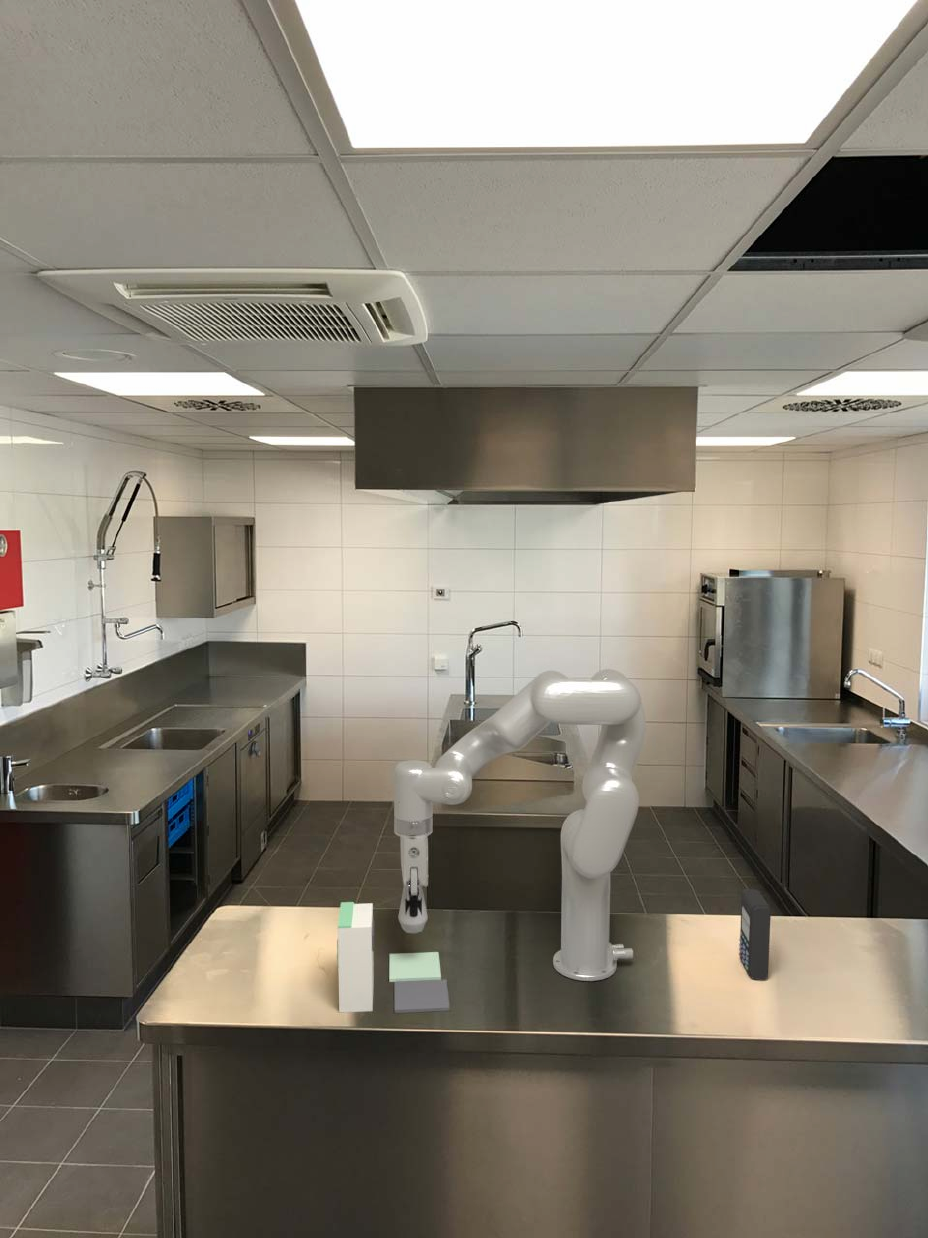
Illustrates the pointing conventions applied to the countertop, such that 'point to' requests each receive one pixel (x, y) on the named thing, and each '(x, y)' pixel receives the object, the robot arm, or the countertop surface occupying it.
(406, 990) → the grey pad
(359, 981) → the block
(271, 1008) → the countertop surface
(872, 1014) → the countertop surface
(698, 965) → the countertop surface
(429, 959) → the green pad
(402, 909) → the salt shaker
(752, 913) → the card reader
